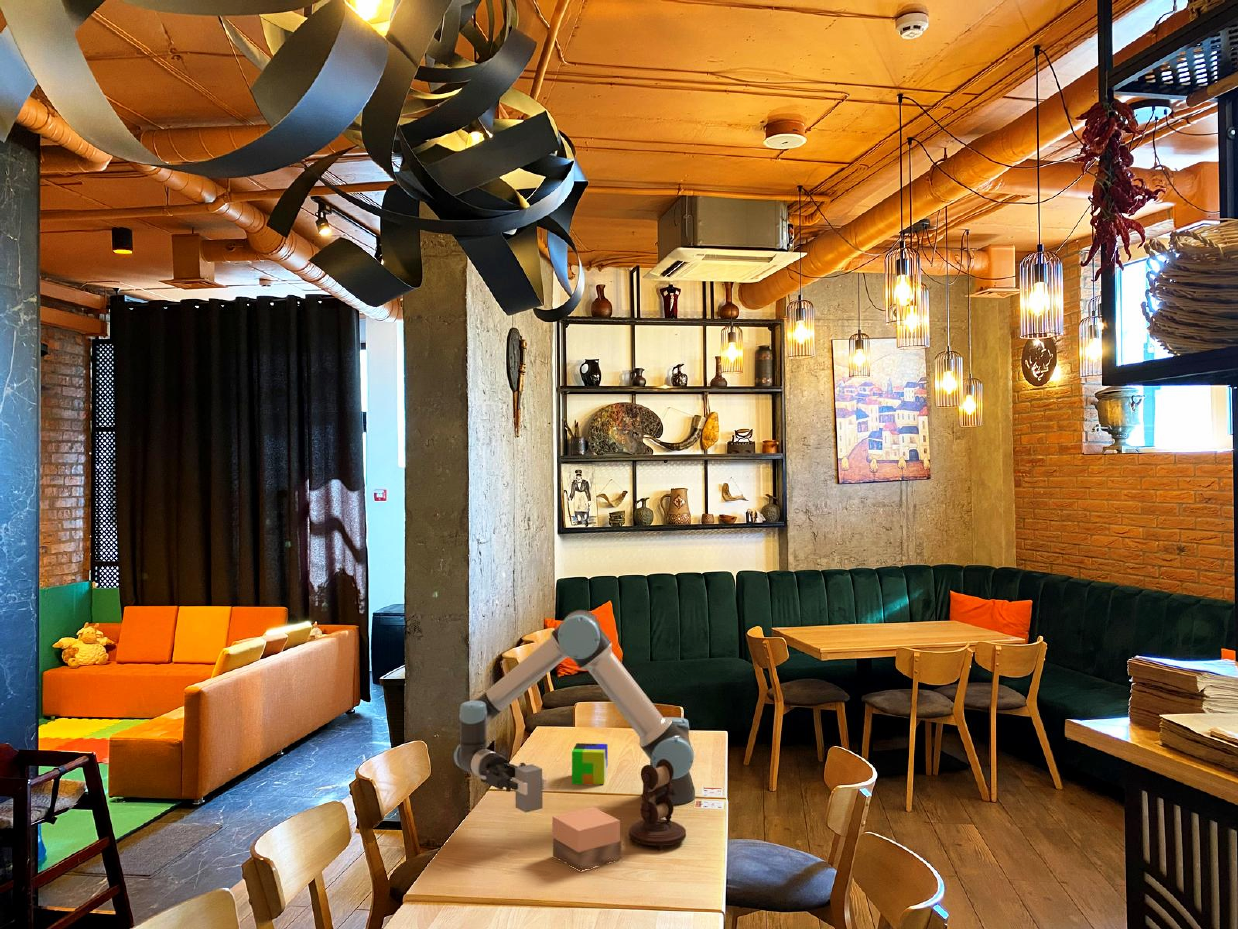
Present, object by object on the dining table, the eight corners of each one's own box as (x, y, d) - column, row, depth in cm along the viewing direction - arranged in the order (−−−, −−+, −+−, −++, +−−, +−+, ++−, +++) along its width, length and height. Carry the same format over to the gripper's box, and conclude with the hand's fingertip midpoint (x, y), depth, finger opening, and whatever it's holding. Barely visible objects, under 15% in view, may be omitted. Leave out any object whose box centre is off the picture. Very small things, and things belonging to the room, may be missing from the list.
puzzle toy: (607, 775, 283) (607, 744, 284) (603, 785, 273) (603, 752, 274) (576, 774, 284) (576, 743, 285) (572, 784, 274) (572, 751, 275)
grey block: (532, 803, 230) (531, 764, 230) (542, 808, 226) (542, 768, 226) (515, 807, 227) (515, 768, 227) (525, 812, 223) (525, 772, 223)
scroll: (651, 826, 238) (651, 751, 239) (697, 839, 229) (696, 761, 230) (617, 842, 227) (617, 763, 228) (663, 856, 218) (663, 774, 218)
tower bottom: (592, 846, 225) (592, 826, 225) (621, 861, 215) (621, 840, 216) (552, 858, 218) (552, 837, 218) (580, 874, 208) (580, 852, 208)
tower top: (592, 827, 225) (592, 807, 225) (620, 841, 215) (619, 820, 215) (552, 837, 218) (552, 816, 218) (578, 852, 208) (578, 831, 209)
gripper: (518, 773, 248) (565, 794, 229) (460, 787, 236) (504, 810, 218) (518, 746, 248) (565, 765, 229) (460, 758, 237) (504, 779, 218)
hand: (535, 787), depth 224 cm, fingers closed on grey block, 5 cm apart
